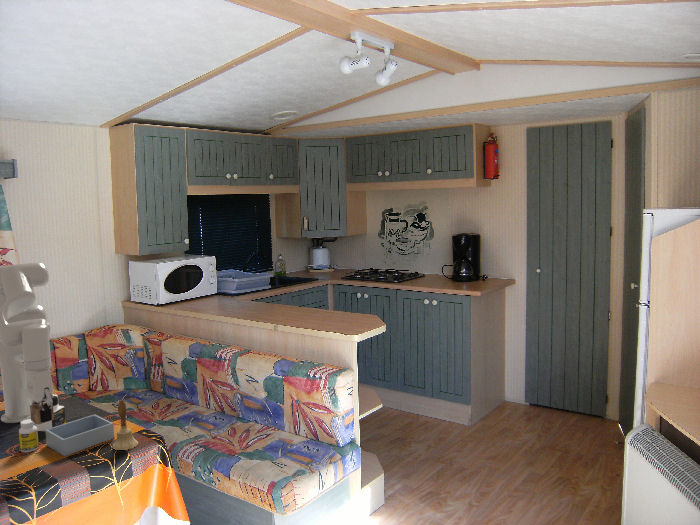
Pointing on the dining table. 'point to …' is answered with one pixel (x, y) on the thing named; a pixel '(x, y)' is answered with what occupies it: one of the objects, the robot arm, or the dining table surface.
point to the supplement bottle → (28, 436)
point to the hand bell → (124, 432)
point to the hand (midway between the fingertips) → (42, 418)
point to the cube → (38, 413)
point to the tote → (79, 434)
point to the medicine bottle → (58, 416)
